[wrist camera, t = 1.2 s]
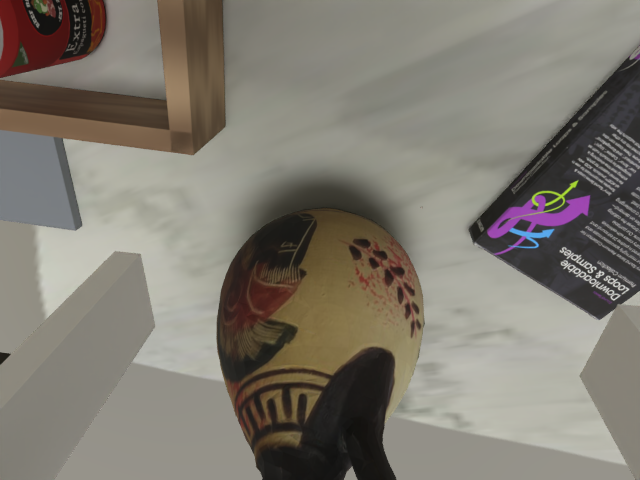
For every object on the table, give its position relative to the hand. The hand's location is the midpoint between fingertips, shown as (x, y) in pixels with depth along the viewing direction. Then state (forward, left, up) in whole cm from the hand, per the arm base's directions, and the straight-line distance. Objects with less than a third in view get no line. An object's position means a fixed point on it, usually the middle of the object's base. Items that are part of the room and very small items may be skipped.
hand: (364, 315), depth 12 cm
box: (+3, +20, -24) cm, 32 cm away
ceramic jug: (+13, -1, -24) cm, 27 cm away
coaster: (+9, -31, -23) cm, 40 cm away
